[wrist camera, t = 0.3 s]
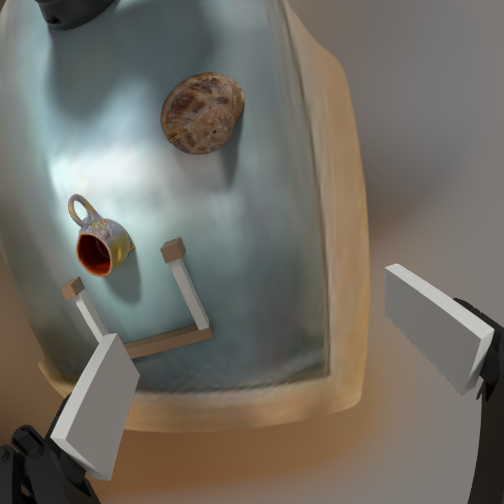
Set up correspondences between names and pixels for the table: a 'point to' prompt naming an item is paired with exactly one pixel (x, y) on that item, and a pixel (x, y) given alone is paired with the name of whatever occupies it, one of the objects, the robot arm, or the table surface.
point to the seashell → (202, 112)
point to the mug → (99, 240)
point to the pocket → (161, 342)
